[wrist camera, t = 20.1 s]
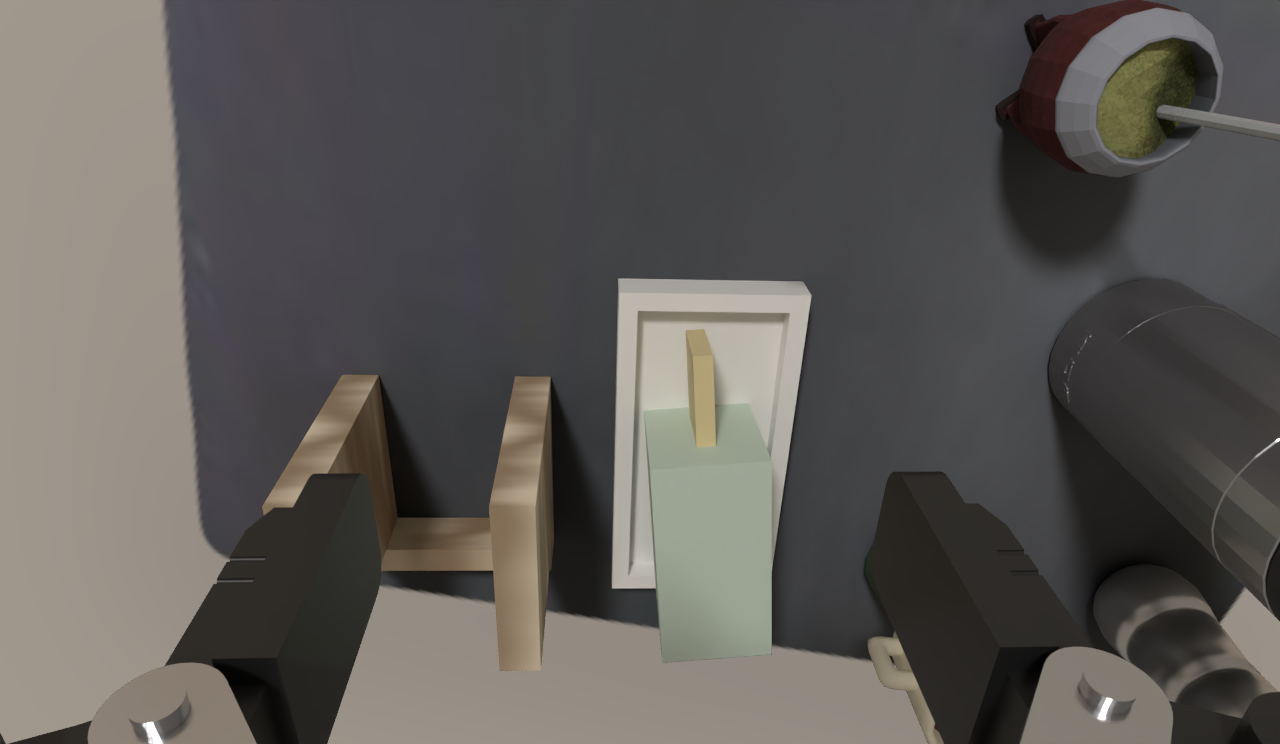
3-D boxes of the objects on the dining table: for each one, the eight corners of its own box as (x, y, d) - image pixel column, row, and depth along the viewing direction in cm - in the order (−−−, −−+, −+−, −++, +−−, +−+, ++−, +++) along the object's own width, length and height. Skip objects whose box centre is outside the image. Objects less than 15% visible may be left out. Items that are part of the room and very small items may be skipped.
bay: (550, 376, 45) (535, 507, 35) (553, 537, 51) (541, 693, 40) (342, 374, 45) (262, 506, 34) (368, 538, 50) (305, 695, 40)
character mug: (1005, 521, 52) (1120, 684, 40) (965, 602, 55) (1061, 775, 44) (845, 500, 50) (917, 663, 39) (813, 585, 54) (871, 759, 42)
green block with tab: (747, 319, 44) (771, 366, 37) (750, 576, 50) (771, 654, 44) (638, 327, 44) (643, 375, 37) (655, 583, 50) (662, 662, 44)
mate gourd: (959, 57, 38) (1149, 114, 25) (1117, -52, 36) (1413, -53, 23) (1020, 182, 41) (1219, 292, 28) (1169, 87, 39) (1457, 157, 26)
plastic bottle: (1133, 633, 57) (1371, 939, 39) (1059, 605, 55) (1273, 911, 38) (1197, 569, 54) (1484, 867, 37) (1122, 538, 53) (1383, 833, 35)
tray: (802, 281, 43) (811, 295, 42) (763, 566, 53) (769, 587, 51) (618, 278, 43) (618, 292, 41) (611, 566, 52) (612, 588, 50)
